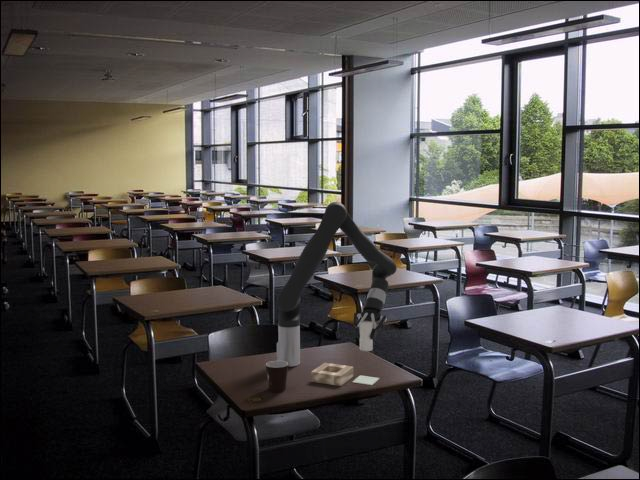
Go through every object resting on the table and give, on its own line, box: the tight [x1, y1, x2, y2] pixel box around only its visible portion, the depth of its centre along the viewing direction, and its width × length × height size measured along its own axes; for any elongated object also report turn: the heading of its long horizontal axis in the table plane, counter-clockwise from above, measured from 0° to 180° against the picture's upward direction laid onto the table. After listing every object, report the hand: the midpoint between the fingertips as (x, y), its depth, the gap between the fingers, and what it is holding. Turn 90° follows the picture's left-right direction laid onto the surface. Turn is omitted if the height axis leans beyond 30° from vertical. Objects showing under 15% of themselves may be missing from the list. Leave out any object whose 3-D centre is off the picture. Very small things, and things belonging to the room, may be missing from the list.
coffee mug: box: [265, 360, 289, 393], centre depth 248 cm, size 12×9×10 cm
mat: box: [351, 375, 380, 386], centre depth 256 cm, size 8×8×1 cm
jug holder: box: [310, 362, 354, 387], centre depth 258 cm, size 13×13×4 cm
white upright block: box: [358, 320, 374, 352], centre depth 253 cm, size 5×7×11 cm
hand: (364, 337), depth 252 cm, fingers closed on white upright block, 5 cm apart
